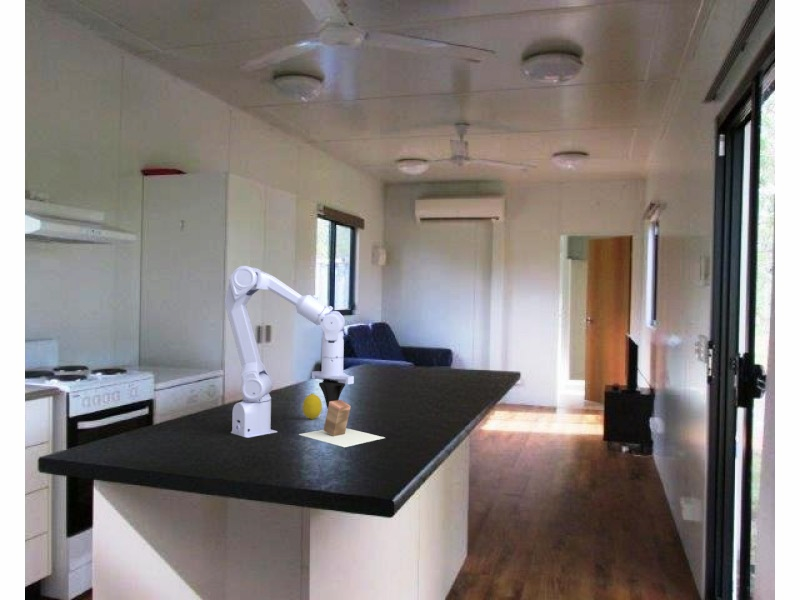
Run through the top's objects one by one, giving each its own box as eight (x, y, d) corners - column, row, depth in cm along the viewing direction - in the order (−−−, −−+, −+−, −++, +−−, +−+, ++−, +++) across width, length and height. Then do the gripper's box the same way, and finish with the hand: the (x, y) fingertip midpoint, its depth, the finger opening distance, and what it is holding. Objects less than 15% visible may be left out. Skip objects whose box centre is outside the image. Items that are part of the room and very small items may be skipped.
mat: (344, 449, 137) (344, 447, 137) (298, 436, 149) (298, 434, 149) (385, 439, 148) (385, 437, 148) (338, 428, 160) (338, 426, 160)
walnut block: (333, 436, 148) (339, 407, 146) (323, 429, 150) (329, 401, 149) (344, 434, 151) (350, 405, 149) (335, 427, 153) (341, 399, 152)
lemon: (323, 419, 172) (323, 392, 172) (318, 422, 166) (319, 395, 166) (305, 418, 172) (305, 391, 172) (300, 422, 167) (300, 394, 167)
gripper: (362, 358, 149) (361, 410, 149) (326, 354, 159) (325, 403, 159) (342, 360, 144) (341, 414, 144) (306, 355, 154) (305, 406, 154)
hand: (331, 408), depth 151 cm, fingers closed
